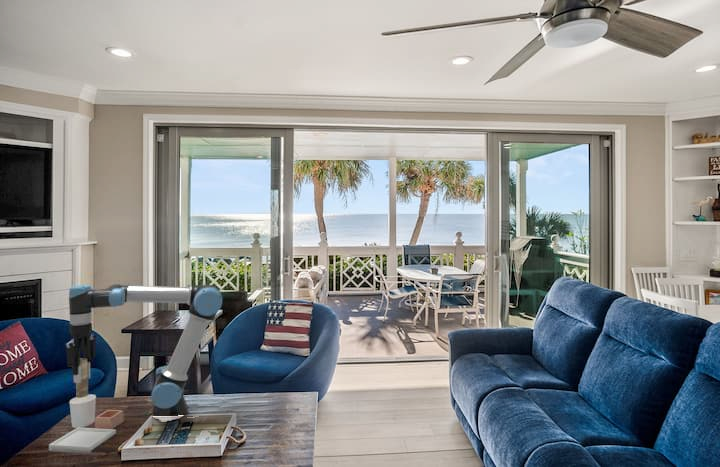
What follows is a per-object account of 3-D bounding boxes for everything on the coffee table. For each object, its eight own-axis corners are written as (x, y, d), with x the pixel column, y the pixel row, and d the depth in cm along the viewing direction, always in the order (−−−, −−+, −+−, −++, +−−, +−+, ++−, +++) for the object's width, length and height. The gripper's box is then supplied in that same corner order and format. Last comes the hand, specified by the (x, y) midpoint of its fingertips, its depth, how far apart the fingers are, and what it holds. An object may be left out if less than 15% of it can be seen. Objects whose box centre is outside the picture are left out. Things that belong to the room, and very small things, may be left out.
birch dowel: (90, 393, 167) (89, 357, 167) (82, 397, 163) (81, 361, 163) (81, 393, 167) (81, 357, 167) (73, 397, 163) (72, 360, 163)
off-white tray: (116, 435, 171) (116, 429, 171) (89, 453, 157) (89, 447, 157) (78, 433, 173) (78, 427, 173) (49, 450, 160) (48, 444, 160)
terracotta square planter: (123, 423, 181) (123, 410, 181) (111, 432, 174) (110, 418, 174) (108, 422, 182) (108, 409, 182) (95, 431, 175) (94, 417, 175)
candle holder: (83, 431, 175) (82, 404, 174) (64, 429, 177) (63, 402, 176) (101, 421, 184) (101, 395, 184) (83, 419, 186) (83, 393, 186)
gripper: (89, 318, 174) (90, 372, 174) (54, 328, 157) (55, 387, 157) (105, 318, 173) (106, 373, 173) (71, 328, 156) (72, 388, 156)
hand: (82, 379), depth 165 cm, fingers closed on birch dowel, 4 cm apart
